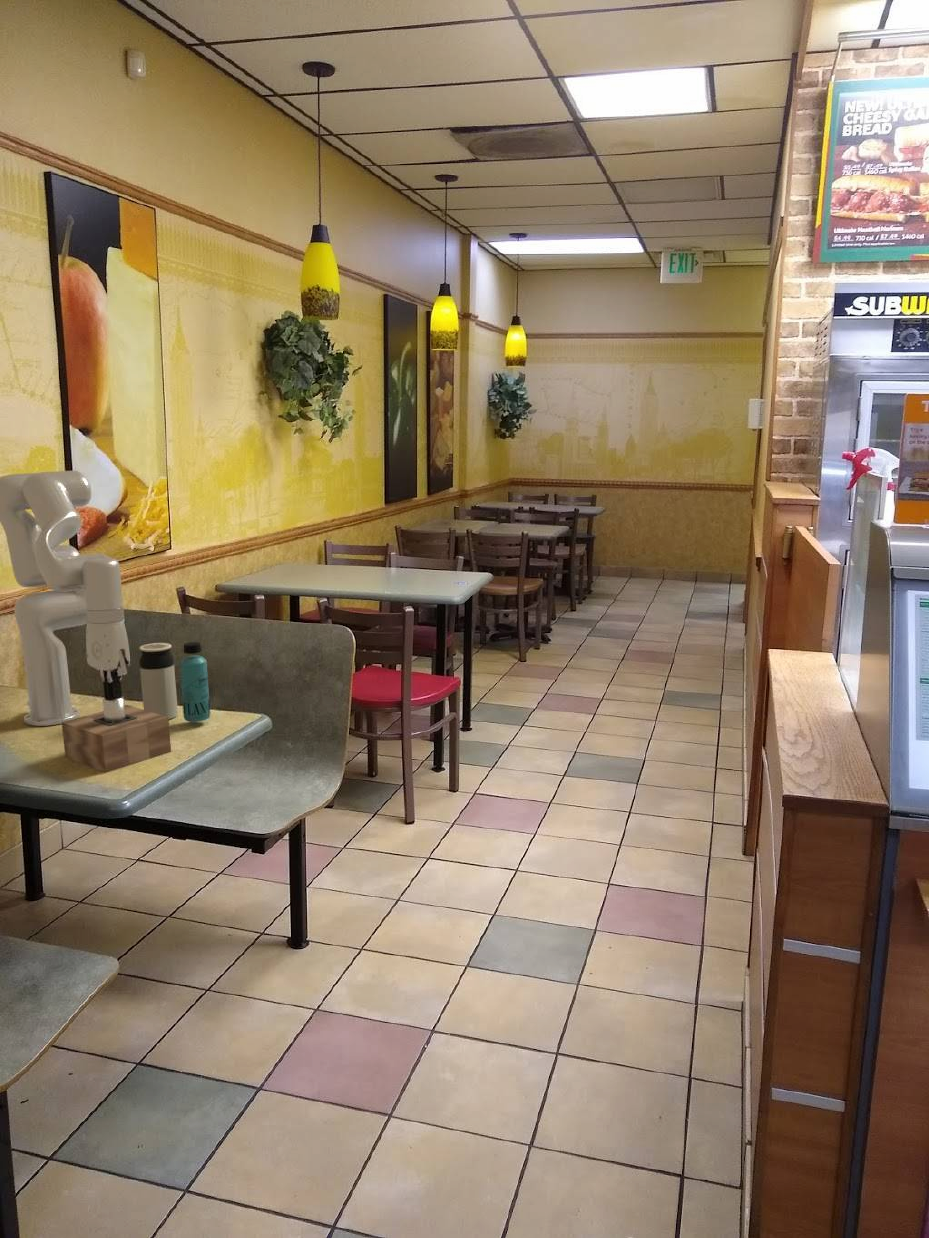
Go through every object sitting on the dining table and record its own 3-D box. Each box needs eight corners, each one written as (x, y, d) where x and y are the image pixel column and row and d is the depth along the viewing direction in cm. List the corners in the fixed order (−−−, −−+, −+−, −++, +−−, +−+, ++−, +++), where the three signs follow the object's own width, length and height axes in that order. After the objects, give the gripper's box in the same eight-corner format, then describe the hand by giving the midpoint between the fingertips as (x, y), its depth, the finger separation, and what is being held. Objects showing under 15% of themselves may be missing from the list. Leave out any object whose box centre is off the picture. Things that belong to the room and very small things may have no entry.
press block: (65, 757, 215) (61, 721, 214) (129, 737, 228) (126, 703, 226) (106, 772, 206) (102, 735, 204) (171, 751, 218) (168, 716, 216)
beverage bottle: (179, 727, 235) (172, 646, 230) (190, 719, 241) (184, 639, 237) (205, 728, 234) (199, 646, 230) (215, 719, 240) (210, 640, 236)
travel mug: (168, 722, 239) (162, 650, 235) (138, 721, 240) (131, 649, 237) (183, 712, 246) (178, 643, 243) (154, 711, 248) (148, 642, 244)
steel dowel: (101, 733, 215) (98, 699, 214) (119, 728, 219) (116, 694, 217) (113, 737, 213) (109, 702, 211) (131, 731, 216) (128, 697, 214)
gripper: (70, 615, 212) (79, 696, 216) (109, 623, 203) (117, 708, 207) (102, 609, 218) (109, 689, 221) (141, 616, 208) (148, 700, 212)
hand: (113, 698), depth 214 cm, fingers closed
